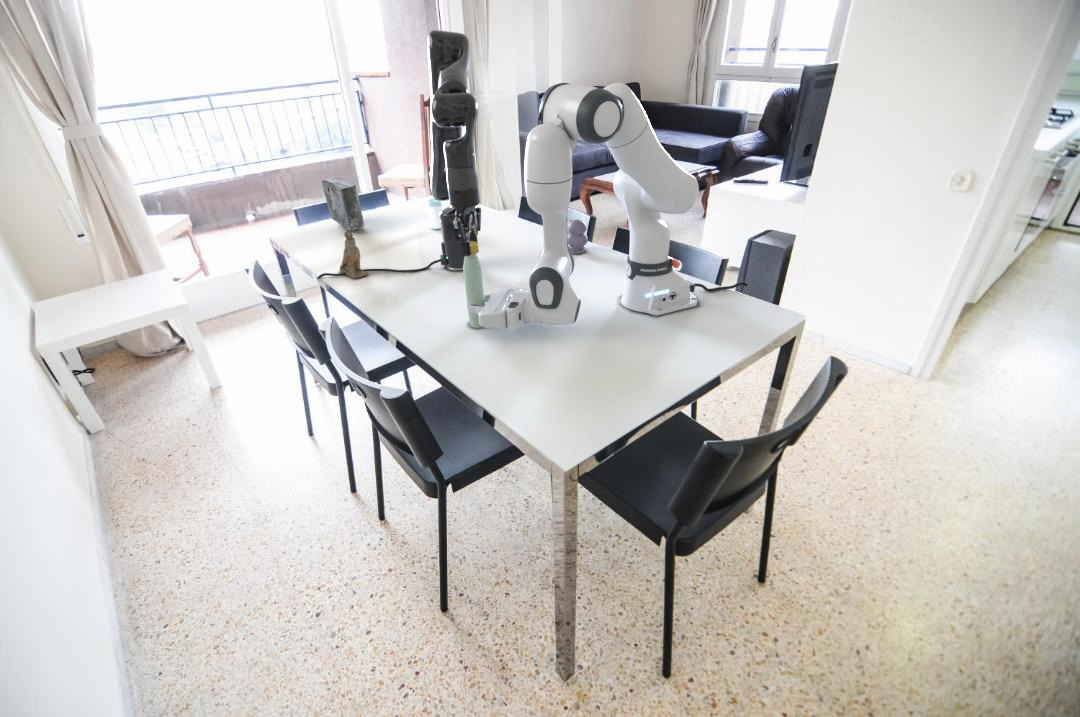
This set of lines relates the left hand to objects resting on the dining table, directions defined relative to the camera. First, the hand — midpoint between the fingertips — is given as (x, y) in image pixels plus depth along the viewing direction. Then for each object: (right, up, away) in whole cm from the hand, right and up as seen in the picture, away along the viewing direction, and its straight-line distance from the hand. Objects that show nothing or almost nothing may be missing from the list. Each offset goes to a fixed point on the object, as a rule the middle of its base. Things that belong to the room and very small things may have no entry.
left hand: (470, 252), depth 130 cm
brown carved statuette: (-49, +3, +48) cm, 69 cm away
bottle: (+1, -18, +11) cm, 21 cm away
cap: (0, +2, -1) cm, 2 cm away
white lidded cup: (-27, +31, +93) cm, 102 cm away
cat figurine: (+33, +13, +60) cm, 70 cm away
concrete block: (-69, +32, +98) cm, 124 cm away
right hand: (0, -13, +8) cm, 15 cm away
